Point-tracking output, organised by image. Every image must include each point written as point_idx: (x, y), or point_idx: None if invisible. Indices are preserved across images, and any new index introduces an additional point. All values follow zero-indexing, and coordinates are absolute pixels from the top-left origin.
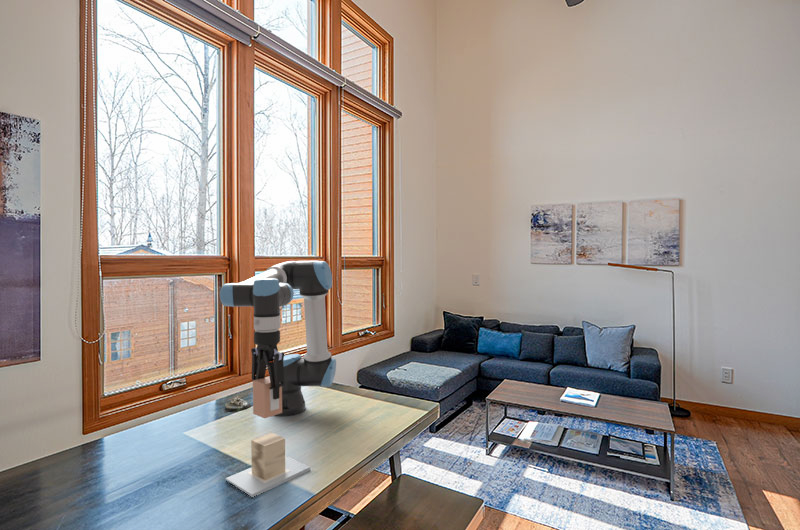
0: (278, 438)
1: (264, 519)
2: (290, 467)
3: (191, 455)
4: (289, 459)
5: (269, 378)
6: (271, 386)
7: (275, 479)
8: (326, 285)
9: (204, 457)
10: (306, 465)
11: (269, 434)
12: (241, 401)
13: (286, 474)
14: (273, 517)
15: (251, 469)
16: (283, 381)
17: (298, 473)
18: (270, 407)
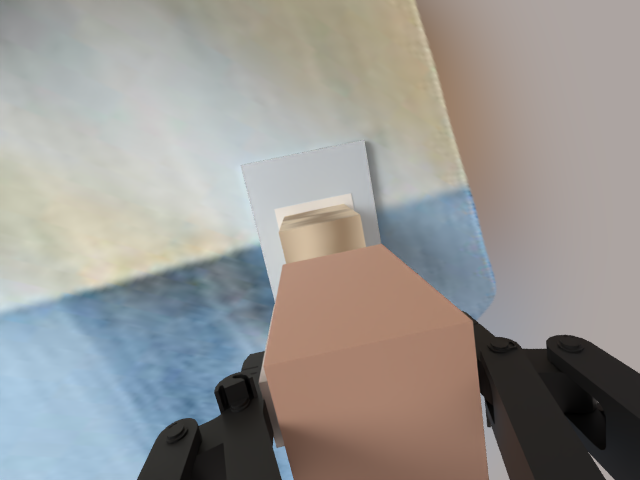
0: (345, 233)
1: (475, 306)
2: (332, 183)
3: (83, 354)
4: (285, 164)
5: (341, 398)
6: (488, 411)
7: (365, 239)
8: None
9: (115, 331)
10: (349, 143)
11: (291, 244)
12: None
13: (359, 208)
14: (481, 290)
15: (277, 267)
16: (612, 365)
17: (370, 179)
18: None
